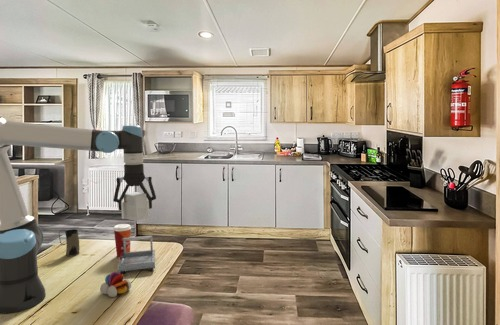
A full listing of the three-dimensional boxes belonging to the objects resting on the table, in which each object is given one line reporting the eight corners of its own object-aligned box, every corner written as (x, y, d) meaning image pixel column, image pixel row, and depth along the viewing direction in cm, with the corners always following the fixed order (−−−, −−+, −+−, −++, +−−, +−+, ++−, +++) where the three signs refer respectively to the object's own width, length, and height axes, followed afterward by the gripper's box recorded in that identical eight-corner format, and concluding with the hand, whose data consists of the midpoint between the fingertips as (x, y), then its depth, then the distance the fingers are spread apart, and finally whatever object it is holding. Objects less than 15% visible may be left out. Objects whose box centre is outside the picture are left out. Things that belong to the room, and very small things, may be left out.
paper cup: (126, 259, 151) (125, 228, 149) (111, 258, 152) (109, 227, 151) (135, 253, 158) (134, 223, 157) (120, 251, 160) (119, 222, 158)
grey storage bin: (118, 275, 135) (117, 249, 134) (122, 261, 148) (121, 238, 147) (154, 271, 139) (154, 246, 137) (155, 258, 152) (154, 235, 151)
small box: (147, 218, 141) (146, 193, 140) (136, 221, 137) (135, 195, 135) (135, 215, 146) (134, 191, 144) (124, 218, 141) (122, 193, 140)
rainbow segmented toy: (114, 301, 115) (113, 280, 115) (96, 293, 120) (95, 274, 120) (134, 290, 123) (133, 271, 122) (117, 284, 128) (116, 265, 127)
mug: (80, 251, 161) (78, 226, 160) (79, 255, 156) (78, 229, 154) (61, 253, 158) (59, 228, 156) (59, 257, 153) (58, 232, 151)
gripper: (103, 165, 132) (106, 221, 135) (161, 163, 138) (163, 217, 140) (106, 163, 139) (108, 216, 142) (161, 161, 145) (163, 213, 148)
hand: (135, 217), depth 141 cm, fingers closed on small box, 9 cm apart
